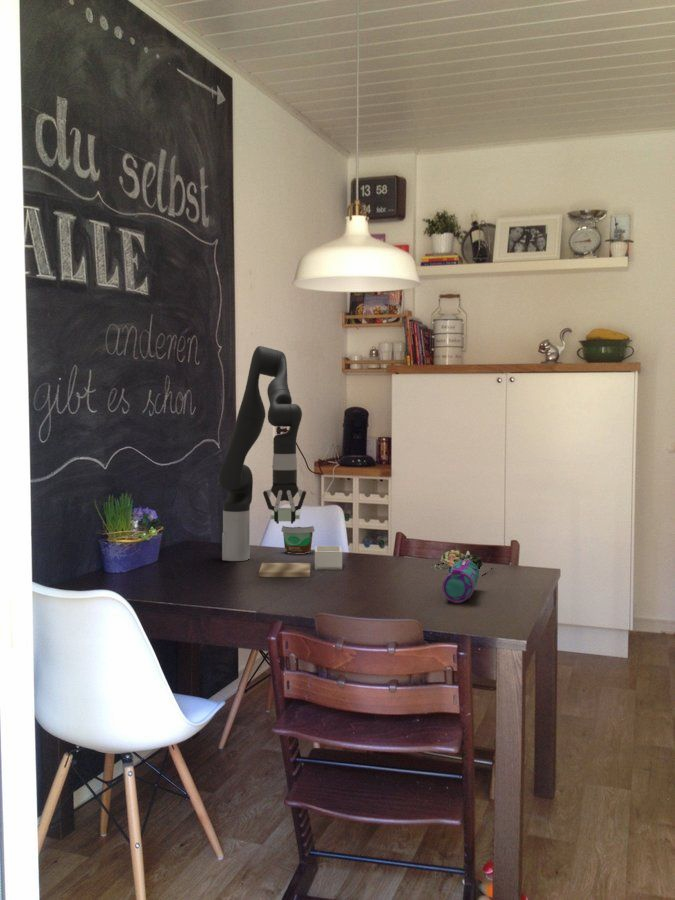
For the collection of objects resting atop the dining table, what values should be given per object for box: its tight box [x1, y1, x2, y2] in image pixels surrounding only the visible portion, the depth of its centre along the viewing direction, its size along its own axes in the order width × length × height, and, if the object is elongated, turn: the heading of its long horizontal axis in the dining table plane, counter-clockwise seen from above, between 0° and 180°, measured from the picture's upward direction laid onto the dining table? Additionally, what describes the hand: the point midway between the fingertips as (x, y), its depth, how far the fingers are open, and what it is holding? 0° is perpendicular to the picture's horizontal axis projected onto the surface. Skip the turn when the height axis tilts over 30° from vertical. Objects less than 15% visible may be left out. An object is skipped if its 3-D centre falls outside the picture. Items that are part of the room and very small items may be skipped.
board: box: [258, 562, 311, 578], centre depth 274 cm, size 16×16×2 cm
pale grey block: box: [270, 507, 301, 522], centre depth 271 cm, size 9×19×4 cm, turn 2°
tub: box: [314, 545, 343, 571], centre depth 284 cm, size 9×12×6 cm
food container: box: [281, 525, 316, 553], centre depth 309 cm, size 12×6×10 cm, turn 88°
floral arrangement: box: [432, 546, 484, 572], centre depth 284 cm, size 35×28×7 cm
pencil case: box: [441, 559, 480, 604], centre depth 240 cm, size 21×9×10 cm, turn 167°
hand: (284, 523), depth 264 cm, fingers closed on pale grey block, 4 cm apart
